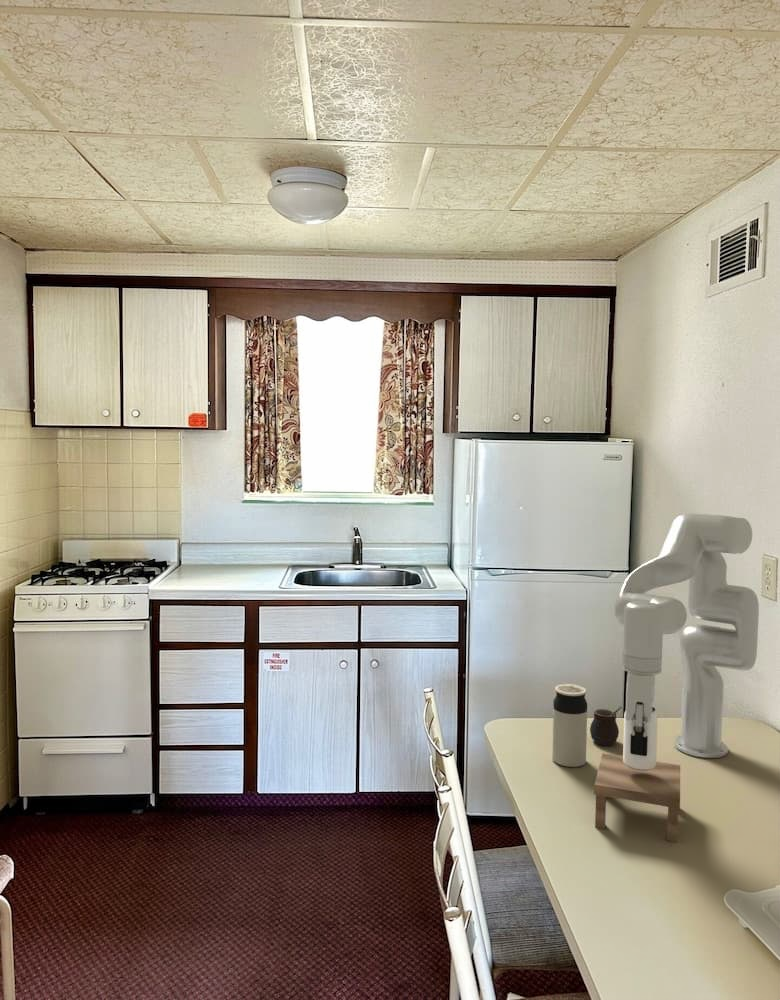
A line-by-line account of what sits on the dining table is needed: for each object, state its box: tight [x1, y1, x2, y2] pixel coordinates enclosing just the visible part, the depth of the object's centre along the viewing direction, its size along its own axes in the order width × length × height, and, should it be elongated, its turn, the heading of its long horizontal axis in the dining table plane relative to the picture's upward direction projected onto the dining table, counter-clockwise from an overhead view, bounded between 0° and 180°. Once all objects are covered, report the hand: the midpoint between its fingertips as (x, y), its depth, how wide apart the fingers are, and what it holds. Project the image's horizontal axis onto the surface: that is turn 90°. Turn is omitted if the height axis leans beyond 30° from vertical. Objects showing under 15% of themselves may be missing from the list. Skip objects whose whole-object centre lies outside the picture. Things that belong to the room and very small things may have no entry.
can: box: [622, 704, 658, 771], centre depth 152 cm, size 6×6×12 cm
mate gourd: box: [589, 706, 622, 746], centre depth 191 cm, size 7×8×10 cm
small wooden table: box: [593, 753, 681, 843], centre depth 153 cm, size 16×16×9 cm
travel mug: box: [551, 683, 588, 768], centre depth 179 cm, size 8×8×18 cm
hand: (639, 747), depth 152 cm, fingers closed on can, 6 cm apart
